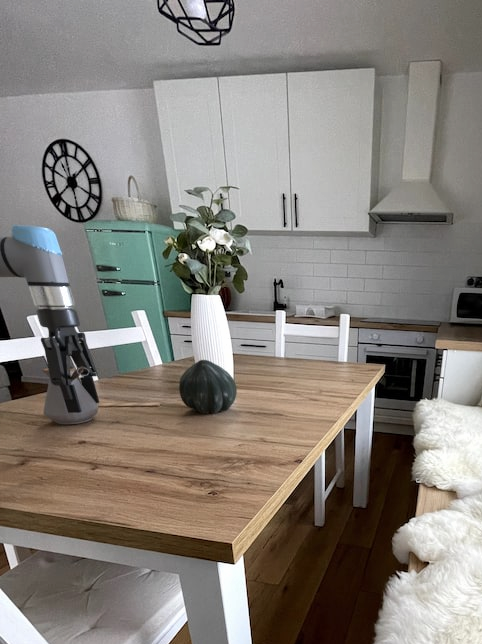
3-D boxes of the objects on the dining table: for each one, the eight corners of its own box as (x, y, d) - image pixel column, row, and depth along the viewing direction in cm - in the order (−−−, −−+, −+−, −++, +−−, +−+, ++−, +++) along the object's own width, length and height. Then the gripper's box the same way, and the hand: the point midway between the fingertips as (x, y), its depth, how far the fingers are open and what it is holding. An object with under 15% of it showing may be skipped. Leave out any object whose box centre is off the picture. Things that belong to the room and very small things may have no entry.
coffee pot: (40, 420, 99) (20, 359, 93) (91, 411, 107) (75, 354, 101) (72, 439, 87) (51, 369, 81) (126, 427, 95) (111, 363, 89)
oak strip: (69, 407, 111) (68, 405, 111) (74, 404, 114) (74, 403, 114) (158, 406, 114) (157, 405, 114) (161, 403, 117) (161, 402, 116)
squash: (215, 381, 120) (183, 346, 107) (253, 389, 115) (225, 353, 101) (192, 420, 116) (155, 388, 103) (230, 430, 110) (197, 398, 97)
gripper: (64, 306, 97) (89, 397, 107) (5, 309, 78) (42, 419, 88) (96, 306, 98) (118, 397, 108) (45, 310, 79) (78, 419, 89)
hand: (84, 407), depth 98 cm, fingers closed on coffee pot, 8 cm apart
